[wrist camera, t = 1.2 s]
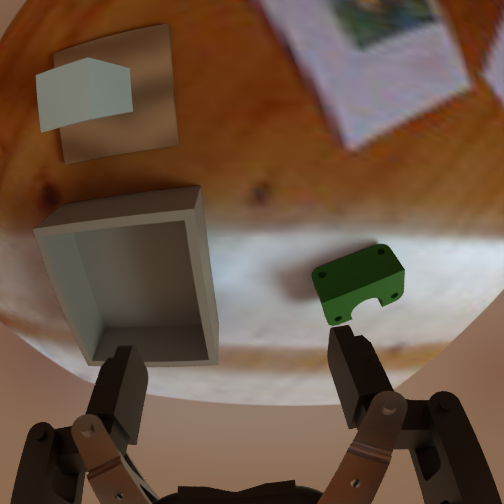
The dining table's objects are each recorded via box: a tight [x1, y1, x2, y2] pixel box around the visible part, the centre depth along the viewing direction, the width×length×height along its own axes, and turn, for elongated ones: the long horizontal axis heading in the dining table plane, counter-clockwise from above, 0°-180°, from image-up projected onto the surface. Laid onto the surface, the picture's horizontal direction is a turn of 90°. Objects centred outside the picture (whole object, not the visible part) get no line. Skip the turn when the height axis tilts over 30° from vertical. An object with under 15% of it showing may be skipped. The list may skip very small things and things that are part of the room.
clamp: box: [312, 244, 405, 326], centre depth 40 cm, size 12×6×9 cm, turn 105°
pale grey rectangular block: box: [36, 58, 133, 133], centre depth 23 cm, size 5×5×11 cm
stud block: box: [54, 24, 179, 165], centre depth 26 cm, size 14×14×6 cm
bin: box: [33, 186, 219, 367], centre depth 36 cm, size 20×18×8 cm
